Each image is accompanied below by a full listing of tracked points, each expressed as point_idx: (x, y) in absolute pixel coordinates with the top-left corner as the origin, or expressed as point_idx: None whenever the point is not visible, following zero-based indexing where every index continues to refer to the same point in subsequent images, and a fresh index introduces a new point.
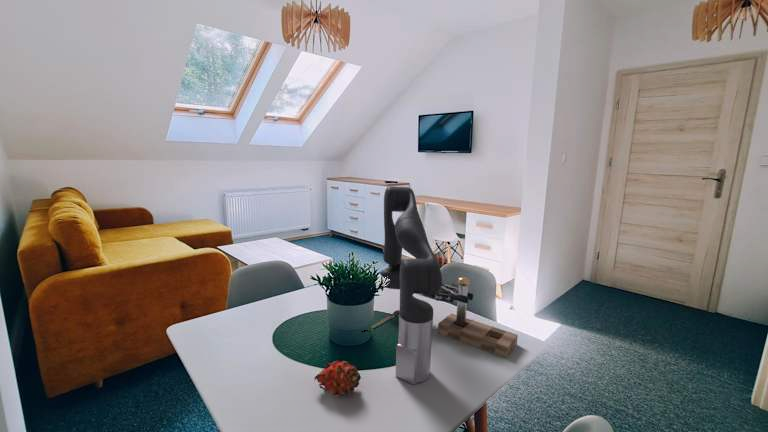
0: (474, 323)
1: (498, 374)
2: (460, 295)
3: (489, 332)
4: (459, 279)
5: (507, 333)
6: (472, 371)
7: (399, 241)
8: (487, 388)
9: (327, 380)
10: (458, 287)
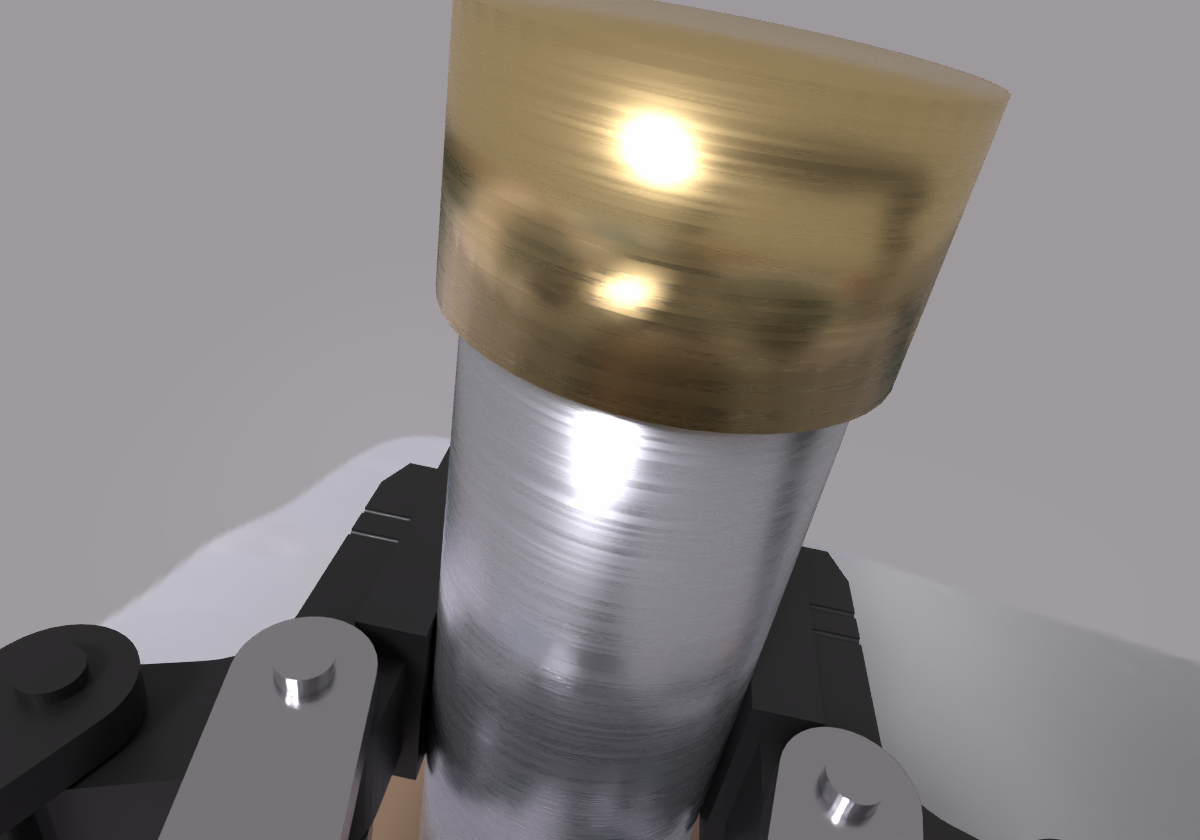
0: (381, 832)
1: (968, 623)
2: (813, 647)
3: None
4: (988, 131)
5: None
6: (1125, 787)
7: None
8: (1172, 670)
9: None
10: (740, 565)
